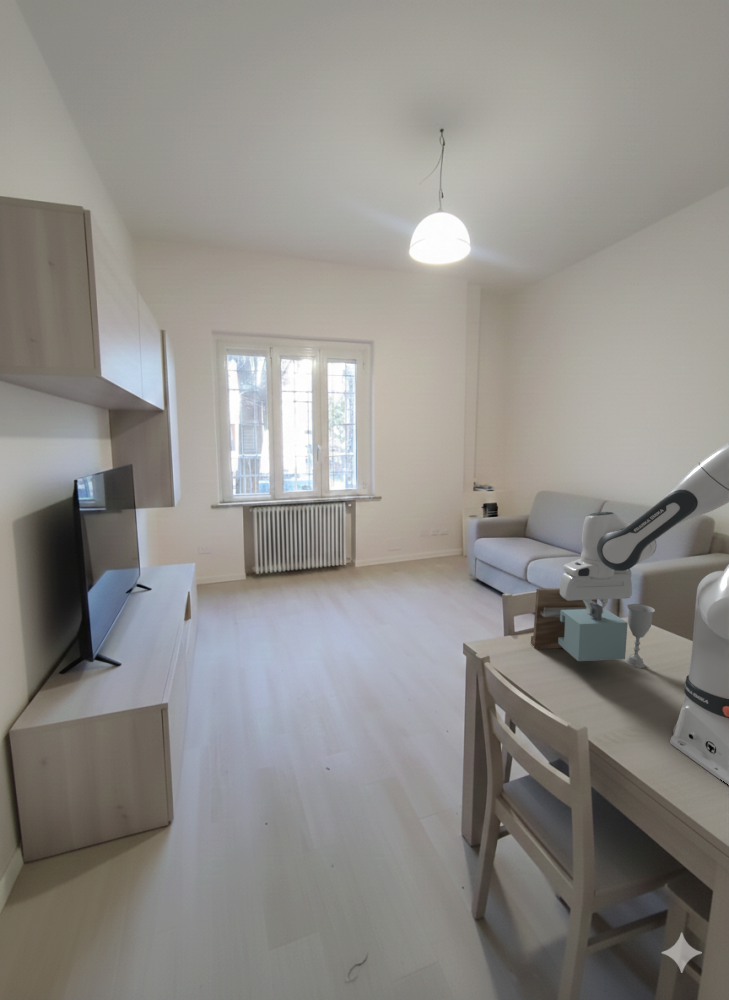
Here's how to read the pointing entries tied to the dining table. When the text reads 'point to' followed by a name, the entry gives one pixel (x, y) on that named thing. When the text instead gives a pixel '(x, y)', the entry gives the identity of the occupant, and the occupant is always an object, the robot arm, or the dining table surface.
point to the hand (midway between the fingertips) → (594, 613)
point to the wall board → (551, 617)
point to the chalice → (638, 629)
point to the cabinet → (593, 634)
